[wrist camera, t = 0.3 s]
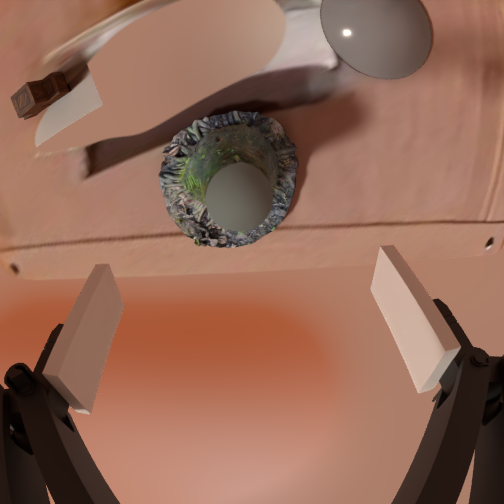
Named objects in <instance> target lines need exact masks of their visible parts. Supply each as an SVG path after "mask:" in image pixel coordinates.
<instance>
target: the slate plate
mask: <svg viewBox="0 0 504 504" xmlns="http://www.w3.org/2000/svg"><path fill="white" fill-rule="evenodd" d="M320 18H321V24H322V28H323V32H324V34H325V37H326V39H327V41H328V43H329V44H330V46H331V48H332V49H333V50H334V51H335V53H336V54H337V55H338V56H339V57H340V58H341V59H342V60H343V61H344V62H345V63H346V64H347V65H349V66H350V67H352V68H353V69H355V70H356V71H358V72H360V73H362V74H365V75H367V76H370V77H374V78H380V79H400V78H404V77H406V76H409V75H411V74H413V73H414V72H416V71H417V70H418V69H419V68H420V67H421V66H422V65H423V64H424V62H425V60H426V59H427V57H428V54H429V51H430V47H431V28H430V24H429V20H428V18H427V15H426V13H425V11H424V9H423V7H422V6H421V4H420V3H419V1H418V0H322V4H321V10H320Z"/></svg>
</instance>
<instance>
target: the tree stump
mask: <svg viewBox="0 0 504 504" xmlns="http://www.w3.org/2000/svg"><path fill="white" fill-rule="evenodd" d="M164 149H165V150H164V152H163V155H164V157H165V161H163V162H162V165H161V166H162V167H161V172H160V173H159V175H158V176H159V178H160V189H161V190H162V192H163V197H164V198H165V204H166V207H167V212H168V214H169V216H170V217H171V219H172V220H173V221H174V222H175V223H176V225H177V226H178V227H179V228H180V229H181V230H182V231H183V232H184V233H185V235H186V236H187V237H190V238H192V239H194V240H195V242H194V243H195V244H196V245H197V246H200V245H201V246H206V245H209V246H211V247H218V248H221V247H225V248H226V247H227V248H234V247H239V246H243V245H248V244H252V243H254V242H256V241H257V240H259V239H260V238H261V237H263V236H264V235H266V234H268V233H270V232H272V230H274V229H275V228H276V227H277V226H278V225H279V224H280V223H281V222H282V221H283V218H284V217H285V215H286V214H287V211H288V209H289V207H290V204H291V199H292V196H293V195H294V188H295V187H296V178H295V176H296V168H297V167H298V165H299V163H298V159H297V157H296V155H295V153H294V152H295V151H296V150H297V147H296V146H295V145H294V143H291V142H290V141H289V138H288V136H286V133H285V131H284V129H283V126H282V125H281V124H280V123H278V122H277V121H276V120H275V119H274V118H272V117H268V118H267V117H265V116H261V115H260V114H259V112H242V111H232V112H229V113H226V114H220V115H219V114H218V115H213V116H211V117H204V119H202V120H200V119H199V120H195V121H194V122H193V125H191V126H190V127H187V128H186V129H183V130H182V131H180V132H179V134H177V135H176V136H174V137H173V140H172V142H171V144H170V146H169V147H166V148H164ZM212 226H214V227H215V228H212ZM217 226H220V227H221V229H216V228H218V227H217Z"/></svg>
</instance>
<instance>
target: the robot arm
mask: <svg viewBox="0 0 504 504" xmlns="http://www.w3.org/2000/svg"><path fill="white" fill-rule="evenodd" d="M370 290H371V292H372V294H373V296H374V298H375V300H376V302H377V304H378V306H379V308H380V310H381V312H382V314H383V316H384V318H385V320H386V322H387V324H388V326H389V329H390V330H391V333H392V335H393V337H394V339H395V341H396V343H397V346H398V348H399V350H400V352H401V354H402V357H403V359H404V361H405V363H406V366H407V368H408V370H409V373H410V375H411V377H412V380H413V382H414V384H415V387H416V389H417V392H418V393H422V392H425V391H428V390H432V389H433V388H434V387H435V386H436V384H437V383H438V381H439V382H440V384H441V386H442V387H441V389H440V390H439V391H438V393H437V394H436V395H435V397H434V398H433V400H432V401H433V402H434V401H435V400H436V399H437V400H436V403H435V406H434V409H433V412H432V414H431V417H430V420H429V423H428V425H427V428H426V431H425V433H424V436H423V438H422V441H421V443H420V446H419V448H418V451H417V453H416V455H415V458H414V460H413V462H412V464H411V466H410V468H409V471H408V473H407V475H406V477H405V479H404V481H403V483H402V485H401V487H400V489H399V491H398V492H397V494H396V496H395V498H394V500H393V502H392V503H391V504H456V502H457V499H458V497H459V495H460V492H461V489H462V486H463V484H464V481H465V478H466V475H467V473H468V469H469V466H470V463H471V460H472V457H473V453H474V450H475V459H474V470H473V478H472V485H471V492H470V499H469V504H504V355H503V356H502V357H494V356H489V355H488V354H487V353H486V352H485V351H484V350H482V349H480V348H476V347H473V346H472V344H471V343H470V341H469V339H468V338H467V336H466V334H465V333H464V331H463V330H462V328H461V326H460V325H459V323H457V320H456V319H455V317H454V316H453V315H452V312H451V311H450V310H449V308H448V306H447V305H446V304H444V303H443V302H442V301H441V300H439V299H433V300H432V299H431V297H430V296H429V294H428V293H427V292H426V290H425V289H424V287H423V286H422V284H421V283H420V281H419V280H418V279H417V277H416V275H415V274H414V273H413V271H412V270H411V268H410V267H409V266H408V264H407V263H406V261H405V260H404V259H403V257H402V256H401V255H400V253H399V252H398V251H397V249H396V248H395V247H394V245H390V246H380V249H379V254H378V259H377V263H376V268H375V272H374V277H373V281H372V285H371V289H370ZM124 307H125V305H124V303H123V300H122V298H121V295H120V292H119V290H118V287H117V284H116V282H115V279H114V276H113V273H112V271H111V268H110V265H109V264H97V265H95V267H94V269H93V271H92V272H91V274H90V276H89V278H88V280H87V281H86V283H85V285H84V287H83V289H82V291H81V292H80V294H79V296H78V298H77V300H76V302H75V304H74V306H73V308H72V310H71V312H70V314H69V316H68V318H67V320H66V322H65V324H58V326H57V327H56V328H55V329H54V330H53V331H52V332H51V334H50V336H49V338H48V340H47V341H48V342H47V343H46V345H45V347H44V350H43V351H42V353H41V356H40V358H39V360H38V362H37V364H36V367H35V369H34V371H33V372H32V371H31V370H30V368H29V367H28V366H27V365H26V364H24V363H17V364H14V365H13V366H11V367H10V368H9V369H8V371H7V372H6V374H5V377H4V383H5V384H6V385H7V386H8V387H9V389H4V388H3V387H2V385H1V384H0V504H50V501H49V497H48V493H47V488H46V485H47V487H48V490H49V492H50V494H51V496H52V498H53V500H54V502H55V504H120V503H119V501H118V500H117V498H116V497H115V496H114V494H113V492H112V491H111V489H110V488H109V486H108V484H107V483H106V481H105V480H104V478H103V476H102V475H101V473H100V471H99V470H98V468H97V466H96V464H95V463H94V461H93V459H92V457H91V455H90V454H89V452H88V450H87V448H86V446H85V444H84V442H83V440H82V438H81V436H80V434H79V432H78V430H77V428H76V426H75V424H74V422H73V419H72V417H71V415H70V414H69V412H68V408H69V405H70V406H71V407H72V408H73V409H74V410H75V411H76V412H80V413H85V414H91V412H92V408H93V404H94V400H95V397H96V393H97V390H98V386H99V383H100V379H101V376H102V372H103V369H104V366H105V363H106V359H107V356H108V353H109V350H110V347H111V344H112V341H113V338H114V335H115V332H116V329H117V326H118V323H119V320H120V318H121V315H122V312H123V309H124ZM45 483H46V484H45Z"/></svg>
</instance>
